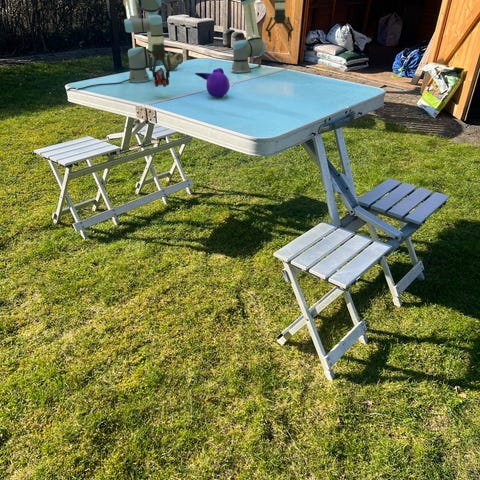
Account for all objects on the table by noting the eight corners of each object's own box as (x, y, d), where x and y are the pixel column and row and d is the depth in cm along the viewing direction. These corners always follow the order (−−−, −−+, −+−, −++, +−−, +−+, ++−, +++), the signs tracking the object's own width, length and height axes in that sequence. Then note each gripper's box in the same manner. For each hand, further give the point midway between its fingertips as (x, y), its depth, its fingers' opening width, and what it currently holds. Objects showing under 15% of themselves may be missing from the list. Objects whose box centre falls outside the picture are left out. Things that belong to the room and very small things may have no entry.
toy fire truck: (170, 83, 291) (168, 66, 286) (164, 88, 281) (162, 70, 276) (160, 83, 292) (158, 66, 287) (153, 87, 282) (151, 70, 277)
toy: (217, 89, 307) (229, 103, 286) (192, 85, 299) (203, 98, 279) (222, 66, 299) (235, 78, 278) (197, 61, 291) (209, 73, 271)
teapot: (162, 72, 368) (160, 52, 361) (157, 70, 377) (155, 51, 369) (186, 69, 377) (184, 50, 370) (180, 67, 386) (179, 48, 378)
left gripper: (175, 42, 276) (178, 81, 287) (144, 42, 279) (149, 81, 290) (171, 44, 269) (175, 84, 281) (140, 44, 272) (145, 83, 284)
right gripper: (297, 8, 321) (296, 40, 332) (263, 9, 325) (263, 40, 336) (297, 9, 315) (295, 42, 325) (262, 9, 318) (261, 42, 329)
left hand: (161, 82), depth 286 cm, fingers closed on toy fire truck, 7 cm apart
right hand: (279, 41), depth 330 cm, fingers open, 13 cm apart
